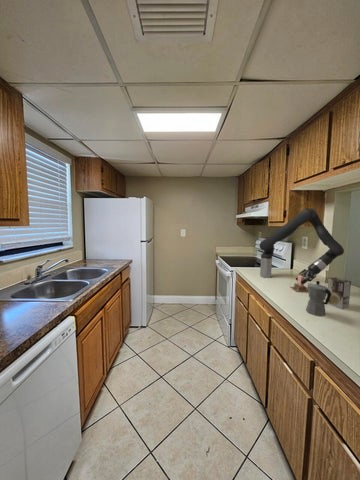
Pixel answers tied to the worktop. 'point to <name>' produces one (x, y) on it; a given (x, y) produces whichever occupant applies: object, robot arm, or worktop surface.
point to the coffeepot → (317, 299)
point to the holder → (299, 288)
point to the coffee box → (339, 292)
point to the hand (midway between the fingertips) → (299, 281)
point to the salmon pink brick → (300, 278)
